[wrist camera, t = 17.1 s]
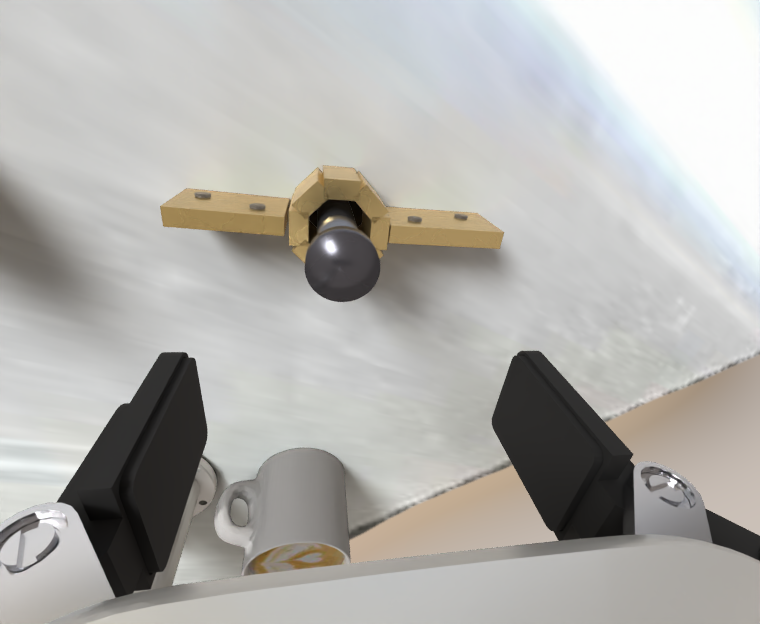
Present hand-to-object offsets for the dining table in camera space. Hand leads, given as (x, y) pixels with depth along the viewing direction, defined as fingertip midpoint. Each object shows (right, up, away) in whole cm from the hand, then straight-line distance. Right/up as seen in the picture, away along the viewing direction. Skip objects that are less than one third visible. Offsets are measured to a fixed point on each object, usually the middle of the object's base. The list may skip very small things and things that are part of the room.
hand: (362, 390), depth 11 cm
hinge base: (+1, +10, +18) cm, 20 cm away
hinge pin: (-3, +10, +17) cm, 20 cm away
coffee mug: (-10, -16, +31) cm, 36 cm away
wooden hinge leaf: (-10, +10, +16) cm, 21 cm away
